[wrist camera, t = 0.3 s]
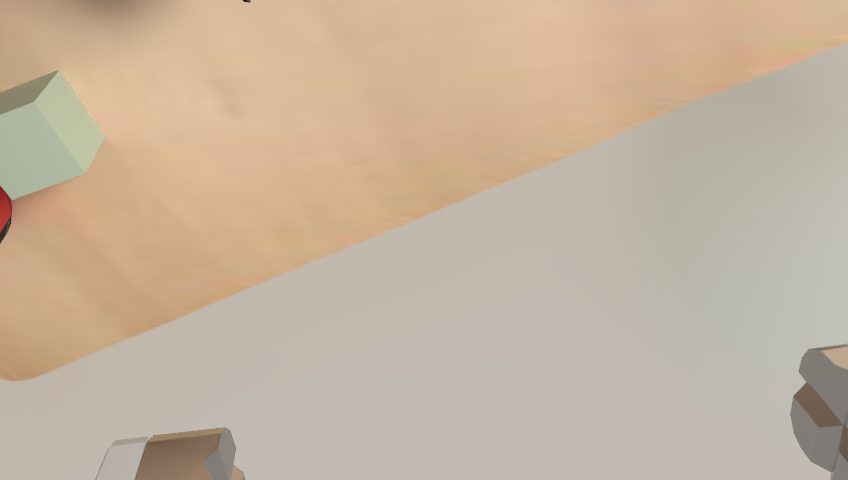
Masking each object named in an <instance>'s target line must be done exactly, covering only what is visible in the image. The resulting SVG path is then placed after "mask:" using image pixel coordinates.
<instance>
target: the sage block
mask: <svg viewBox="0 0 848 480" xmlns="http://www.w3.org/2000/svg"><path fill="white" fill-rule="evenodd" d="M104 138H105V136H104V135H103V133H102V132H101V130H100V129H99V127H98V126H97V124H96V123H95V121H94V120H93V118H92V117H91V115H90V114H89V112H88V111H87V110H86V108H85V107H84V105H83V104H82V102H81V101H80V99H79V98H78V96H77V95H76V93H75V92H74V90H73V89H72V87H71V86H70V85H69V83H68V82H67V80H66V79H65V77H64V76H63V74H62V73H61V71H60V70H58V71H55V72H53V73H50V74H47V75H45V76H42V77H40V78H37V79H35V80H32V81H29V82H27V83H24V84H22V85H19V86H16V87H14V88H11V89H9V90H6V91H3V92H1V93H0V186H1V187H2V188H3V190H4V191H5V192H6V193H7V194H8V196H9V197H10V198H11V199H12V200H14V199H17V198H20V197H22V196H25V195H28V194H31V193H33V192H36V191H39V190H41V189H44V188H47V187H49V186H52V185H55V184H58V183H60V182H63V181H66V180H68V179H71V178H74V177H76V176H79V175H82V174H85V173H86V171H87V169H88V167H89V166H90V164H91V162H92V160H93V158H94V156H95V155H96V153H97V151H98V149H99V147H100V146H101V144H102V142H103V140H104Z"/></svg>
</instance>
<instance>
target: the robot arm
mask: <svg viewBox="0 0 848 480" xmlns="http://www.w3.org/2000/svg"><path fill="white" fill-rule="evenodd" d="M799 373H800V374H801V376H802V377H803V378H804V380H805V381H806V384H805V385H804V386H803V387H802V388H801V389H800V390H799V391H798V392H797V393H796V394H795V395H794V397H793V402H792V408H791V419H792V425H793V430H794V434H795V436H796V439H797V441H798V443H799V445H800V447H801V449H802V450H803V451H804V452H805V454H806V455H807V457H808V458H809V459H810V461H811V462H813V463H815V464H817V465H819V466H820V467H822V468H824V469H826V470H828V471H830V472H831V480H848V344H842V345H834V346H828V347H820V348H813V349H808V351H807V352H806V353H805V355H804V356H803V357H802V360H801V364H800V368H799ZM235 451H236V447H235V444H234V441H233V438H232V435H231V432H230V430H228V429H227V428H216V429H208V430H198V431H189V432H180V433H171V434H161V435H154V436H153V437H141V438H133V439H123V440H116V441H115V442H114V443H113V444H112V445H111V446H110V447H109V448H108V450H107V452H106V454H105V457H104V460H103V462H102V464H101V467H100V469H99V472H98V474H97V477H96V480H245V478H244V475H243V472H242V471H241V470H240V469H238V468H237V467H236V466H234V465H233V463H234V457H235Z"/></svg>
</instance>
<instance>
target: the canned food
mask: <svg viewBox="0 0 848 480" xmlns="http://www.w3.org/2000/svg"><path fill="white" fill-rule="evenodd" d="M11 215H12V205H11V199H10V197H9V196H8V194H7V193H6V192H5V191H4V190H3V188H2V187H1V186H0V243H1V242H2V240H3V239H4V237H5V235H6V234H7V232H8V230H9V227H10V224H11Z"/></svg>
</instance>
